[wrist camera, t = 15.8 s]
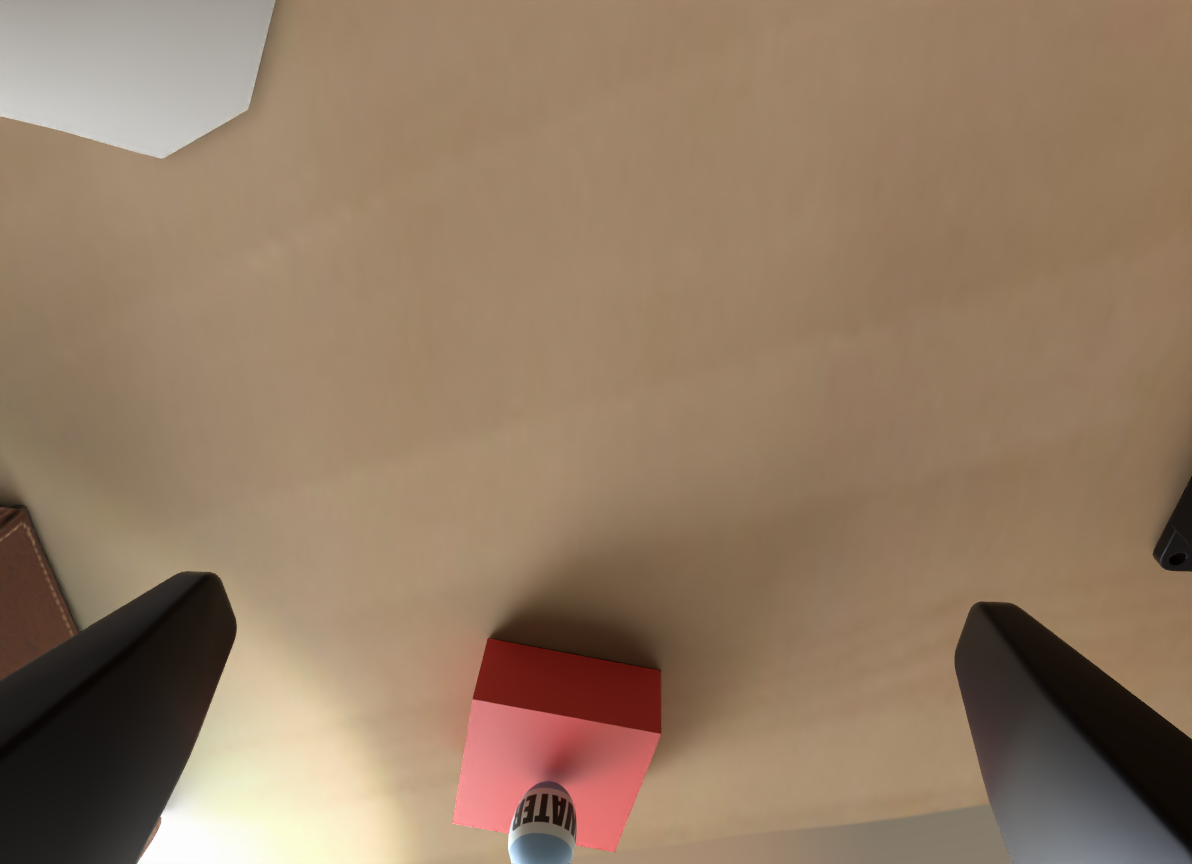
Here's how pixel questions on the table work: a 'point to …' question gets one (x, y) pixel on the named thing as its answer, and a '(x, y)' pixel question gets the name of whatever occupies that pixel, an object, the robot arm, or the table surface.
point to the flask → (131, 67)
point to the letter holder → (29, 599)
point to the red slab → (556, 749)
